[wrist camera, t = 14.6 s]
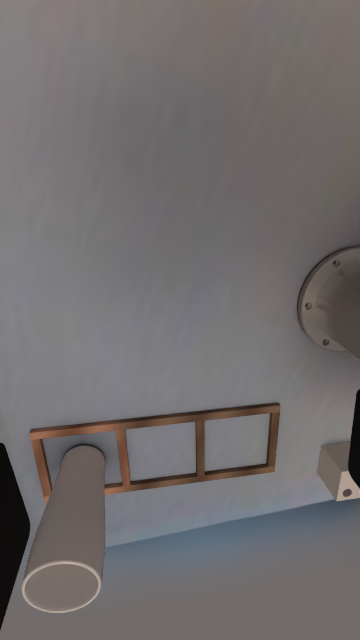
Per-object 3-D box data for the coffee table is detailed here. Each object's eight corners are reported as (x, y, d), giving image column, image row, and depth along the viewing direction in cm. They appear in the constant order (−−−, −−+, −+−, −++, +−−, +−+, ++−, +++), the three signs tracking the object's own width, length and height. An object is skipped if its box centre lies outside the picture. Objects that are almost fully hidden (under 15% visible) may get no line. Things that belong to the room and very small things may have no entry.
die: (353, 440, 48) (378, 468, 43) (348, 468, 50) (371, 497, 45) (321, 445, 48) (342, 472, 43) (316, 472, 49) (337, 502, 44)
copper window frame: (278, 402, 44) (280, 405, 43) (272, 468, 48) (274, 471, 47) (30, 429, 40) (29, 433, 39) (46, 498, 44) (45, 502, 43)
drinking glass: (62, 433, 41) (27, 558, 27) (117, 443, 42) (110, 564, 28) (51, 476, 43) (13, 612, 29) (104, 483, 44) (92, 616, 30)
